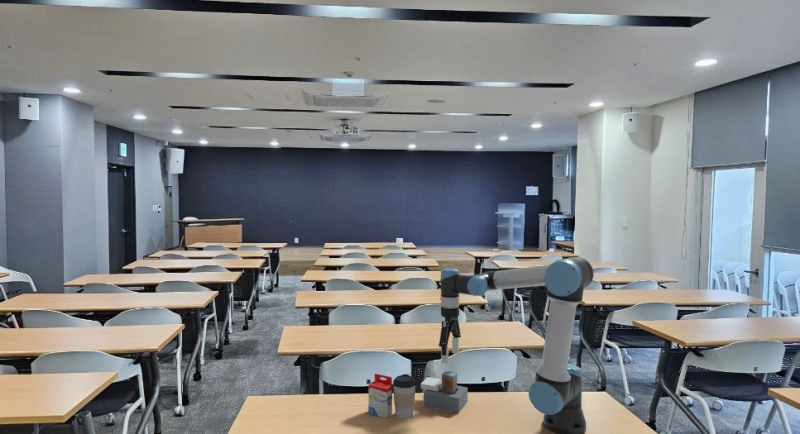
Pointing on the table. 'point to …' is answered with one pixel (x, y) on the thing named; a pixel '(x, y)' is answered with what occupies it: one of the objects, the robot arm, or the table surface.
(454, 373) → the plug
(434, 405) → the socket block
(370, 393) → the ink box
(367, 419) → the table surface
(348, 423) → the table surface
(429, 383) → the lid
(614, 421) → the table surface
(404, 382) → the coffee cup
